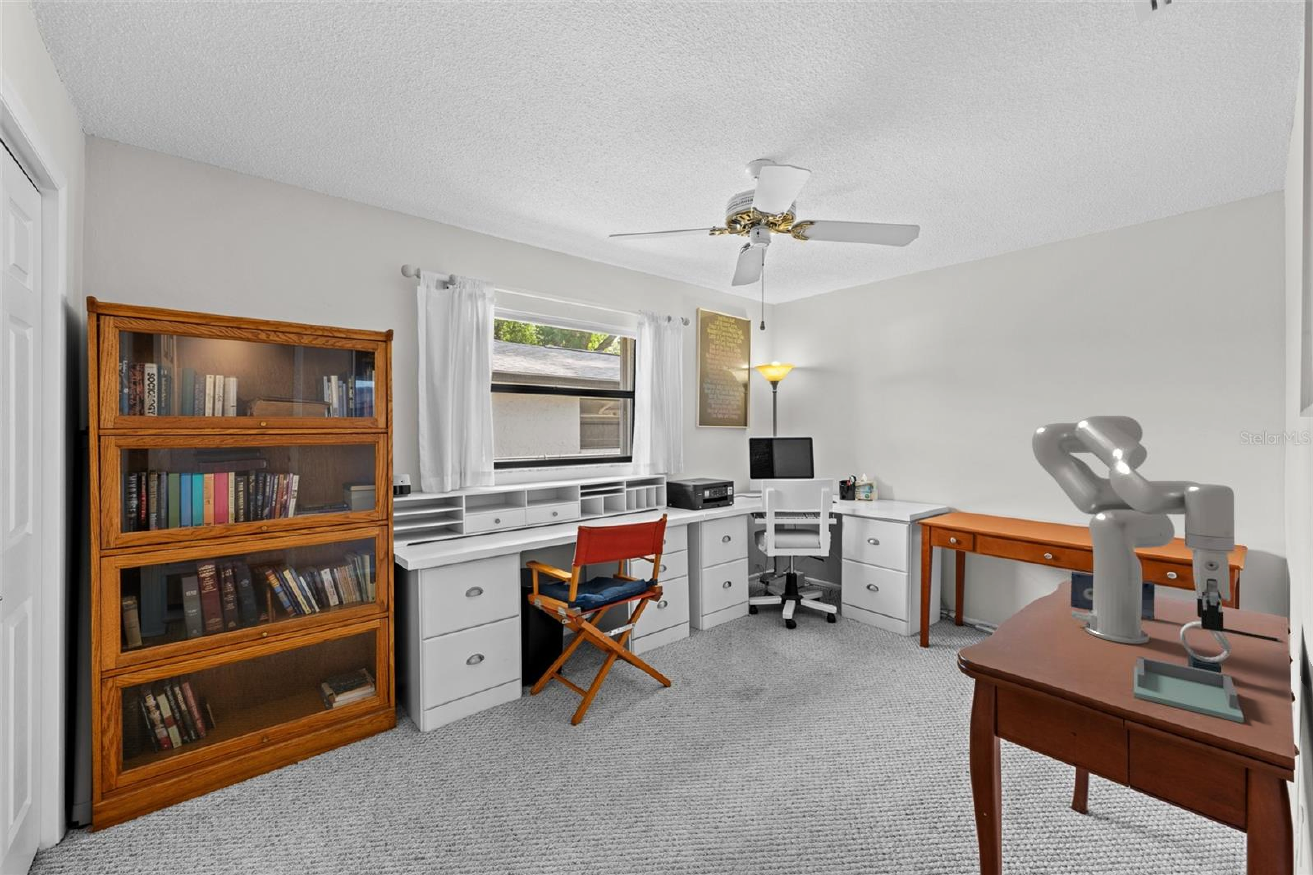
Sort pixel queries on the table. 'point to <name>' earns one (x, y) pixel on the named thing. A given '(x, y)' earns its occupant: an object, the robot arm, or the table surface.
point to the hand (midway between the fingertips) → (1209, 623)
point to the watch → (1205, 661)
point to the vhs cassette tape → (1084, 594)
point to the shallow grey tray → (1187, 688)
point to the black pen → (1253, 635)
